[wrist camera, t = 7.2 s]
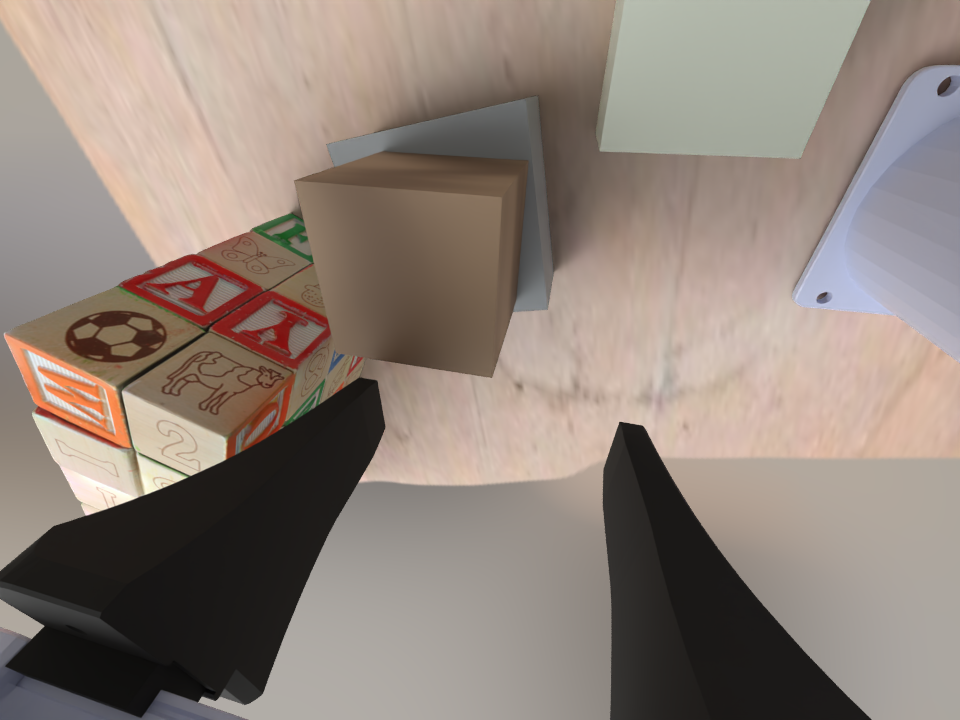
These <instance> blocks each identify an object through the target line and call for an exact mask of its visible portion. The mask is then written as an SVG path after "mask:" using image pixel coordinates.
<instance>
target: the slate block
mask: <svg viewBox="0 0 960 720" xmlns="http://www.w3.org/2000/svg"><path fill="white" fill-rule="evenodd" d="M326 145H327V148H328V151H329V153H330V156H331V159H332V162H333V164H334V167H337V166H340V165H343V164H346V163H349V162H352V161H355V160H358V159H361V158H364V157H367V156H370V155H373V154H376V153H379V152H382V151H386V152H402V153H418V154H433V155H449V156H465V157H481V158H497V159H512V160H528V161H529V163H528V175H527V186H526V197H525V208H524V219H523V230H522V242H521V253H520V264H519V275H518V286H517V297H516V303H515V306H514V310H513V312H519V311H534V310H548V305H549V298H550V292H551V286H552V280H553V274H554V269H553V258H552V247H551V235H550V224H549V213H548V202H547V190H546V179H545V168H544V156H543V145H542V134H541V123H540V111H539V100H538V96H533V97H529V98H524V99H520V100H516V101H511V102H507V103H503V104H498V105H494V106H490V107H485V108H481V109H476V110H472V111H468V112H463V113H459V114H455V115H450V116H446V117H441V118H437V119H433V120H428V121H424V122H420V123H415V124H411V125H406V126H402V127H398V128H393V129H389V130H385V131H380V132H376V133H372V134H367V135H363V136H359V137H355V138H351V139H346V140H342V141H338V142H334V143H330V144H326Z"/></svg>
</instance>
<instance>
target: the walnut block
mask: <svg viewBox="0 0 960 720" xmlns="http://www.w3.org/2000/svg"><path fill="white" fill-rule="evenodd" d="M528 163H529V161H528V160H512V159H497V158H481V157H465V156H449V155H433V154H418V153H402V152H386V151H382V152H379V153H376V154H373V155H370V156H367V157H364V158H361V159H358V160H355V161H352V162H349V163H346V164H343V165H340V166H337V167H334V168H331V169H328V170H325V171H322V172H319V173H316V174H313V175H310V176H307V177H304V178H301V179H298V180H294V183H295V187H296V191H297V195H298V199H299V203H300V207H301V211H302V216H303V220H304V224H305V228H306V232H307V236H308V240H309V244H310V249H311V253H312V257H313V261H314V265H315V269H316V273H317V277H318V282H319V286H320V290H321V294H322V298H323V302H324V306H325V310H326V315H327V319H328V323H329V327H330V331H331V335H332V339H333V343H334V348H335V352H336V353H337V354H344V355H350V356H357V357H363V358H369V359H376V360H382V361H388V362H395V363H401V364H407V365H414V366H420V367H426V368H433V369H439V370H445V371H452V372H458V373H464V374H471V375H477V376H483V377H490V378H492V376H493V373H494V370H495V367H496V364H497V361H498V357H499V354H500V351H501V348H502V345H503V341H504V338H505V335H506V332H507V329H508V326H509V322H510V319H511V316H512V313H513V310H514V306H515V303H516V297H517V286H518V275H519V264H520V253H521V242H522V230H523V219H524V208H525V197H526V186H527V175H528Z"/></svg>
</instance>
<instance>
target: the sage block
mask: <svg viewBox="0 0 960 720" xmlns="http://www.w3.org/2000/svg"><path fill="white" fill-rule="evenodd" d="M870 1H871V0H616V5H615V11H614V17H613V24H612V30H611V36H610V43H609V49H608V55H607V62H606V68H605V74H604V81H603V87H602V94H601V100H600V106H599V113H598V119H597V125H596V132H595V134H596V139H597V143H598V147H599V152H627V153H655V154H683V155H711V156H739V157H767V158H794V159H800V158H801V156H802V153H803V151H804V149H805V147H806V145H807V142H808V140H809V138H810V136H811V133H812V131H813V129H814V127H815V124H816V122H817V120H818V118H819V115H820V113H821V111H822V109H823V106H824V104H825V102H826V100H827V97H828V95H829V93H830V91H831V88H832V86H833V84H834V82H835V79H836V77H837V75H838V73H839V70H840V68H841V66H842V64H843V61H844V59H845V57H846V55H847V52H848V50H849V48H850V46H851V43H852V41H853V39H854V37H855V35H856V32H857V30H858V28H859V26H860V23H861V21H862V19H863V17H864V14H865V12H866V10H867V8H868V5H869V3H870Z"/></svg>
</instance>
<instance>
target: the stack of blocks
mask: <svg viewBox="0 0 960 720" xmlns="http://www.w3.org/2000/svg"><path fill="white" fill-rule="evenodd" d="M4 337H5V339H6V341H7V343H8V346H9V348H10V350H11V352H12V354H13V356H14V359H15V361H16V363H17V365H18V367H19V369H20V371H21V373H22V376H23V379H24V381H25V384H26V386H27V388H28V389H29V391H30V394H31V396H32V399H33V401H34V403H35V404H37V405H38V407H37V408H36V409H35V410H34V411H33V412H32V415H33V418H34V420H35V422H36V425H37V426H38V428H39V430H40V433H41V435H42V437H43V439H44V441H45V443H46V445H47V447H48V449H49V451H50V452H51V455H52V457H53V459H54V460H55V461H56V462H57V463H58V464H59V465H60V467H61V469H62V471H63V473H64V475H65V477H66V478H67V480H68V483H69V485H70V486H71V488H72V490H73V492H74V494H75V496H76V498H77V499H78V500H80V501H81V502H82V503H81V506H82V508H83V510H84V512H85V514H86V516H87V515H90V514H93V513H96V512H99V511H102V510H105V509H108V508H111V507H114V506H117V505H119V504H122V503H125V502H128V501H130V500H133V499H136V498H138V497H141V496H144V495H146V494H149V493H151V492H154V491H156V490H159V489H161V488H164V487H166V486H169V485H171V484H174V483H176V482H178V481H181V480H183V479H185V478H187V477H190V476H192V475H194V474H196V473H198V472H201V471H203V470H205V469H207V468H209V467H212V466H214V465H216V464H218V463H220V462H222V461H224V460H226V459H228V458H230V457H232V456H234V455H236V454H238V453H240V452H242V451H244V450H246V449H248V448H249V447H251V446H253V445H255V444H257V443H258V442H260V441H262V440H264V439H265V438H267V437H269V436H270V435H272V434H274V433H275V432H277V431H278V430H280V429H282V428H283V427H285V426H287V425H288V424H290V423H292V422H293V421H295V420H296V419H298V418H300V417H301V416H303V415H304V414H306V413H307V412H309V411H310V410H312V409H313V408H315V407H316V406H318V405H319V404H321V403H322V402H324V401H325V400H326V399H328V398H329V397H331V396H332V395H334V394H335V393H337V392H338V391H340V390H341V389H342V388H344V387H345V386H347V385H348V384H350V383H351V382H353V381H354V380H356V379H358V378H359V376H360V374H361V371H362V368H363V365H364V362H365V359H366V358H363V357H357V356H350V355H344V354H337V353H336V352H335V348H334V343H333V339H332V335H331V331H330V327H329V323H328V319H327V315H326V310H325V306H324V302H323V298H322V294H321V290H320V286H319V282H318V277H317V273H316V269H315V265H314V261H313V257H312V253H311V249H310V244H309V240H308V236H307V232H306V228H305V224H304V220H302V219H300V218H298V217H297V216H295V215H293V214H291V213H290V214H287V215H285V216H282V217H279V218H277V219H274V220H271V221H269V222H266V223H264V224H262V225H260V226H257V227H254V228H252V229H251V230H250V232H248V233H244V234H242V235H239V236H236V237H234V238H231V239H229V240H227V241H224V242H222V243H219V244H217V245H214V246H212V247H210V248H208V249H205V250H203V251H201V252H199V253H198V254H191V255H187V256H184V257H181V258H179V259H177V260H174V261H171V262H168V263H167V264H165V265H163V266H160V267H158V268H155V269H153V270H149V271H147V272H145V273H144V274H142V275H138V276H135V277H133V278H130V279H128V280H125V281H123V282H121V283H120V284H119V285H118V286H116V287H114V288H112V289H110V290H107V291H105V292H102V293H100V294H97V295H95V296H92V297H89V298H87V299H84V300H82V301H79V302H77V303H74V304H72V305H69V306H67V307H64V308H62V309H60V310H57V311H55V312H52V313H50V314H48V315H45V316H43V317H40V318H38V319H36V320H33V321H31V322H28V323H25V324H22V325H20V326H17V327H15V328H13V329H11V330H9V331H7V332H5V333H4Z"/></svg>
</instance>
